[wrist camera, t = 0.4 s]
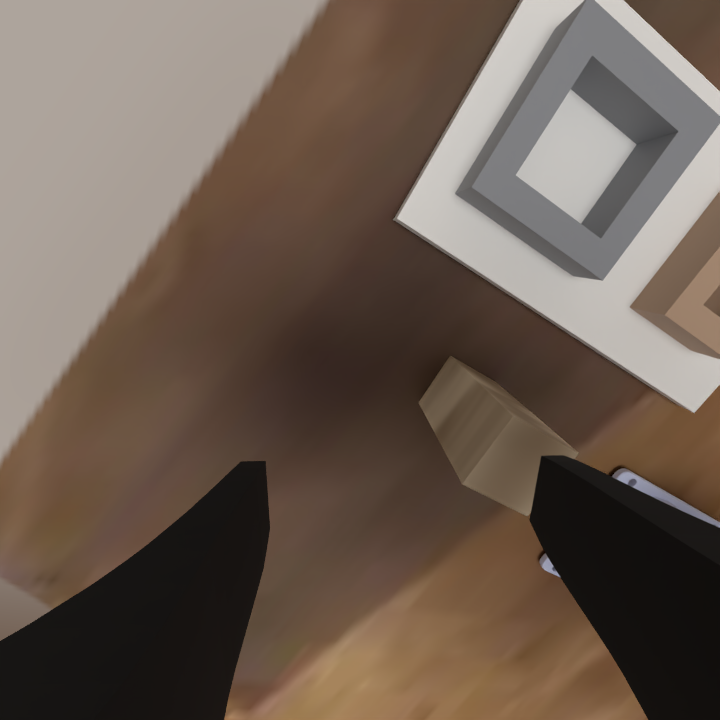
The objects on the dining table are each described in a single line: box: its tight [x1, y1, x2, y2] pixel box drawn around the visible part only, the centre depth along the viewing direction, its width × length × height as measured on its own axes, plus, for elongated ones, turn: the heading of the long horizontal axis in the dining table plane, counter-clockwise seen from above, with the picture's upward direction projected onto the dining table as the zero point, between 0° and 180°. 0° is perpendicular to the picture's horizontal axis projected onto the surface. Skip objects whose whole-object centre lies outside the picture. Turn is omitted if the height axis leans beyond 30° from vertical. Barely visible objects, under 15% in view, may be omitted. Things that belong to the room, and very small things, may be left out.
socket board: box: [393, 0, 720, 413], centre depth 16 cm, size 19×11×3 cm, turn 59°
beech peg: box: [418, 356, 579, 516], centre depth 16 cm, size 3×3×7 cm
